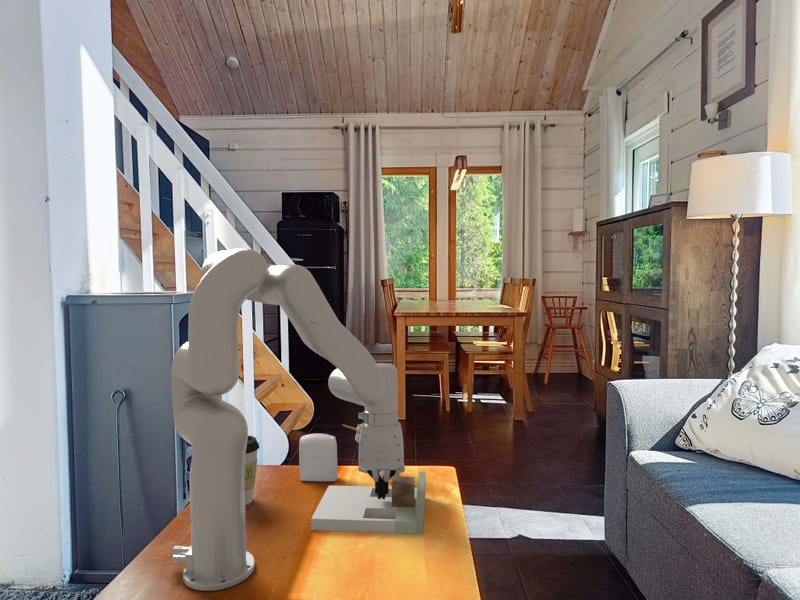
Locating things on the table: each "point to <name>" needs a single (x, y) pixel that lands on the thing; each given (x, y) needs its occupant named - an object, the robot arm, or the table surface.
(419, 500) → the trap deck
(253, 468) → the coffee cup
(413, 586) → the table surface
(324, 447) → the photo printer
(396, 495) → the walnut block
